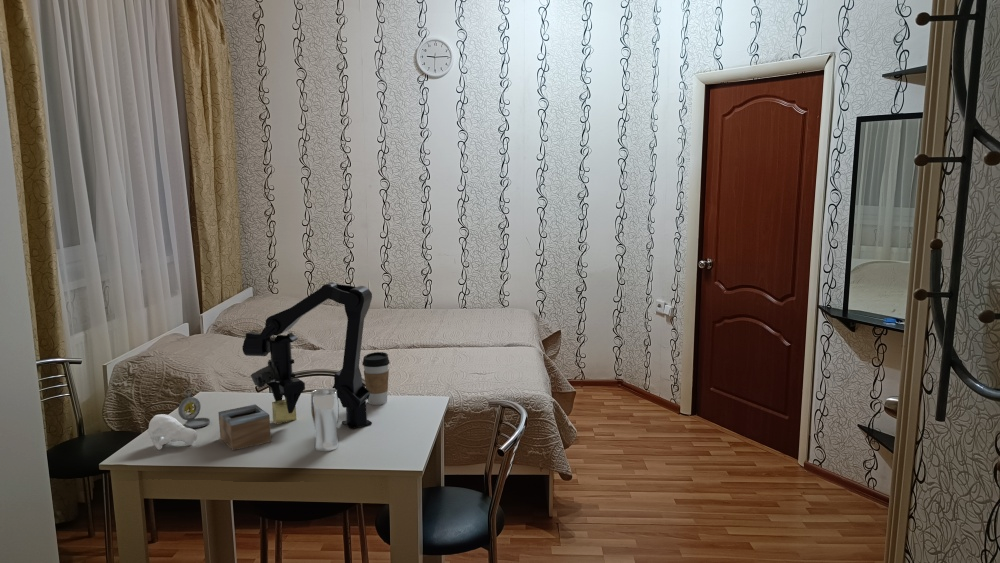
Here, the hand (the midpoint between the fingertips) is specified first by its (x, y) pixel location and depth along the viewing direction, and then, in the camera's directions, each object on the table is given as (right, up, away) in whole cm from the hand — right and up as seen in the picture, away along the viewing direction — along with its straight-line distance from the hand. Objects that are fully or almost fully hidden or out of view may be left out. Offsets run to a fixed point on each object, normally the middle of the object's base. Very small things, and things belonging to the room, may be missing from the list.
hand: (284, 408), depth 211 cm
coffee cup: (+24, -1, +16) cm, 29 cm away
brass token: (0, -4, +1) cm, 4 cm away
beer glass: (+17, -7, -20) cm, 27 cm away
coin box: (-6, -6, -14) cm, 17 cm away
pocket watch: (-25, -4, -1) cm, 26 cm away
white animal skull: (-24, -7, -17) cm, 30 cm away
